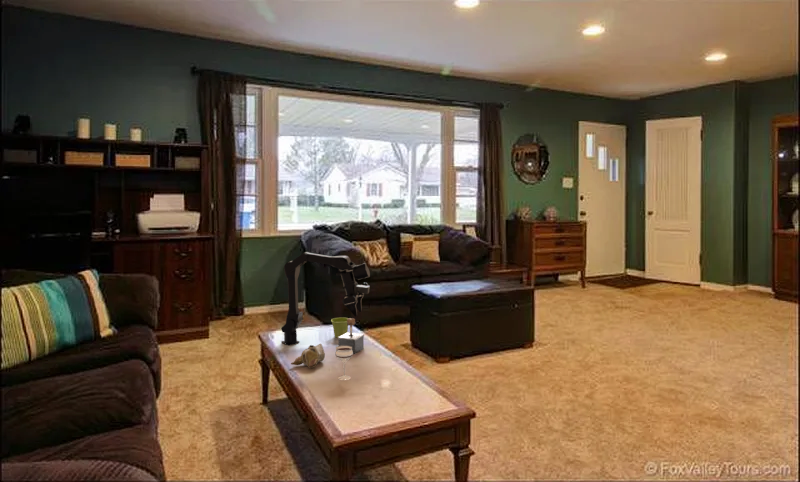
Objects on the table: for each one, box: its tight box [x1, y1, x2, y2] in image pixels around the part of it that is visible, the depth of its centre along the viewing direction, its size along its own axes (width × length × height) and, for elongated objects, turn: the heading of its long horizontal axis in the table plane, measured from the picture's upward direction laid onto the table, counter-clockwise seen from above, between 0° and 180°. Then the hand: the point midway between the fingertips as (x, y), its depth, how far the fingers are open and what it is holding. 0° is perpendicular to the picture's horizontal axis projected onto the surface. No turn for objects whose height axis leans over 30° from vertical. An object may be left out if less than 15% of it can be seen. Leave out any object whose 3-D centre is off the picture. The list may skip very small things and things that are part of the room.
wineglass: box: [335, 345, 354, 381], centre depth 198 cm, size 7×7×12 cm
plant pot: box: [330, 317, 349, 339], centre depth 255 cm, size 9×9×9 cm
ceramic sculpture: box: [290, 343, 326, 369], centre depth 214 cm, size 11×9×15 cm
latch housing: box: [337, 331, 365, 355], centre depth 234 cm, size 9×11×7 cm
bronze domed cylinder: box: [347, 317, 356, 336], centre depth 232 cm, size 4×4×9 cm
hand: (358, 313), depth 239 cm, fingers open, 9 cm apart
